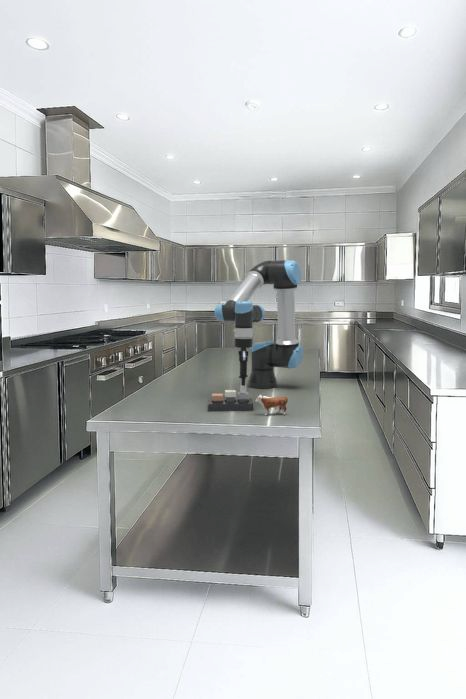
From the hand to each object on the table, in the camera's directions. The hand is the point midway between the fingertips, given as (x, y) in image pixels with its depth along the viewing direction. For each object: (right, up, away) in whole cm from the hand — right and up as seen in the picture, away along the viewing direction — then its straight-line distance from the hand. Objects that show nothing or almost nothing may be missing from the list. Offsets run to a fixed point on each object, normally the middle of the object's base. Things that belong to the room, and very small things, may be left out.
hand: (243, 392), depth 238 cm
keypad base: (-5, -7, +1) cm, 9 cm away
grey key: (0, -5, +1) cm, 6 cm away
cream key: (-5, -5, 0) cm, 7 cm away
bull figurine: (+12, -8, -10) cm, 18 cm away
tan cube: (-11, -6, 0) cm, 13 cm away
